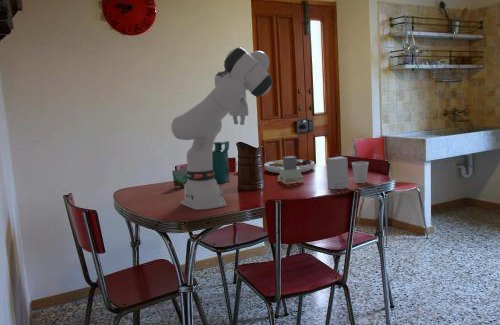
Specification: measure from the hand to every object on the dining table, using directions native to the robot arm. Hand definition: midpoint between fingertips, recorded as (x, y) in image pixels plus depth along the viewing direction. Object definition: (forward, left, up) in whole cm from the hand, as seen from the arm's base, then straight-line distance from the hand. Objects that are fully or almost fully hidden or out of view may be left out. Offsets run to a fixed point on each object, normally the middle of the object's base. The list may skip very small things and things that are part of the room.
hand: (239, 124), depth 229 cm
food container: (+8, +30, -31) cm, 44 cm away
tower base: (-14, -21, -32) cm, 41 cm away
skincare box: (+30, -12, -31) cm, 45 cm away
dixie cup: (-35, -50, -31) cm, 68 cm away
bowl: (+20, -38, -32) cm, 53 cm away
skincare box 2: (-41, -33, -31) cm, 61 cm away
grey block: (-15, -21, -24) cm, 35 cm away
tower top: (-14, -21, -28) cm, 38 cm away
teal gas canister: (+11, +8, -31) cm, 34 cm away
